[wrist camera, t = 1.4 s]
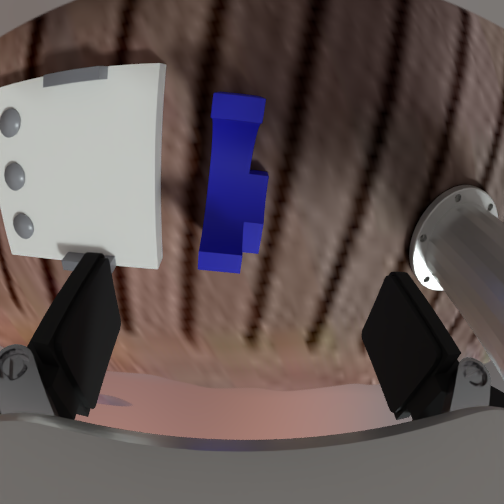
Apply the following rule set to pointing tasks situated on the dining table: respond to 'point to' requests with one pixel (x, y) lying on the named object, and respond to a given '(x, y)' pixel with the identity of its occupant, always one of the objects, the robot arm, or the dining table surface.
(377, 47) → the dining table surface
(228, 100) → the cable clip
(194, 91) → the dining table surface
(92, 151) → the white square board
